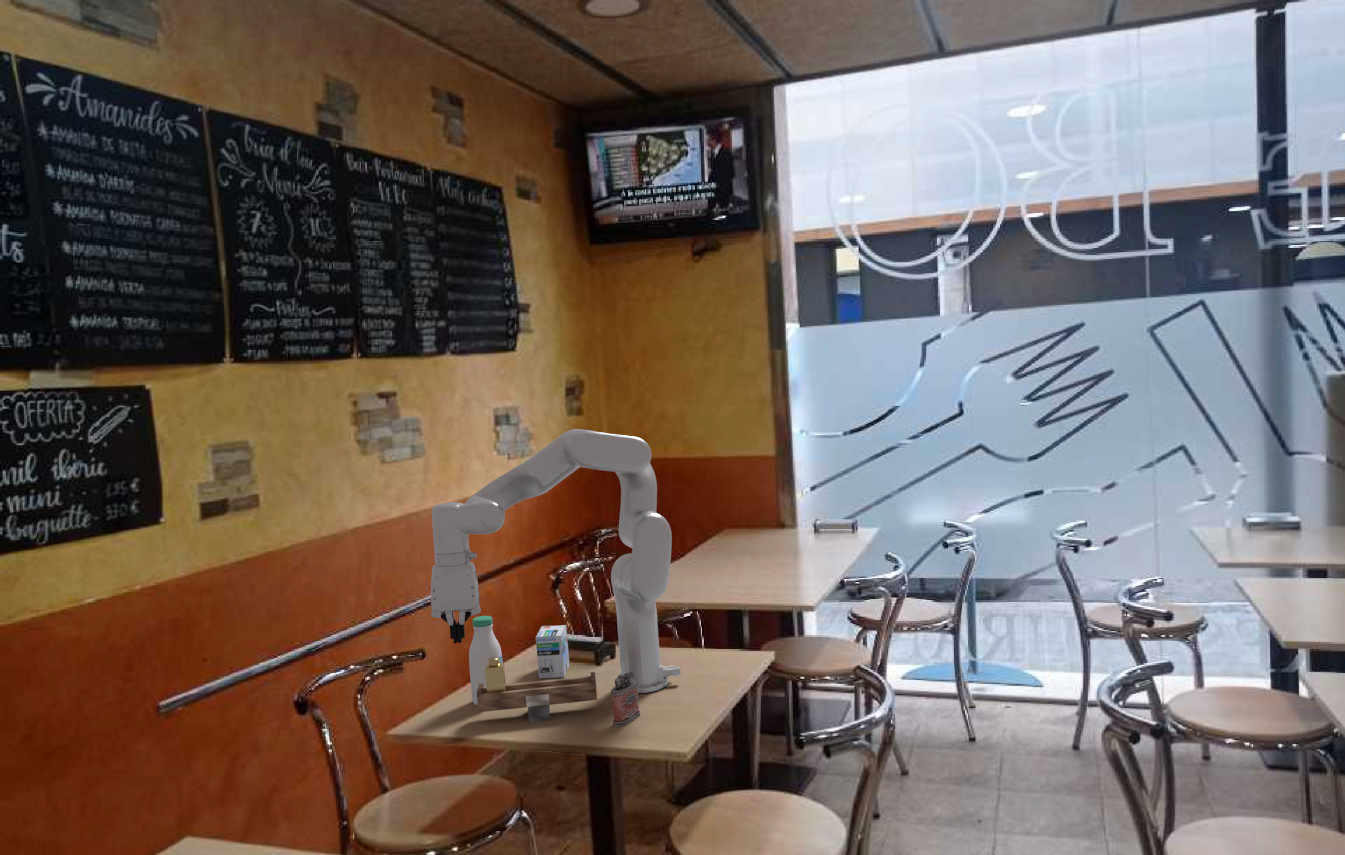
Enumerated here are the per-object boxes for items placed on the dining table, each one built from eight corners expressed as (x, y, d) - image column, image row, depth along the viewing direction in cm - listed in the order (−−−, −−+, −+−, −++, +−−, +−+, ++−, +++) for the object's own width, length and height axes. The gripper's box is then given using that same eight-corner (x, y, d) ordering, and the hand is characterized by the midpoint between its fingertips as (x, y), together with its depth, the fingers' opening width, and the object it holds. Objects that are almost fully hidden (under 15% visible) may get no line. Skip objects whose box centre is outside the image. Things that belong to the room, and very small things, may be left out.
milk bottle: (498, 707, 230) (491, 621, 228) (467, 707, 231) (460, 622, 230) (510, 695, 237) (503, 613, 236) (480, 695, 239) (473, 613, 238)
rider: (506, 691, 223) (503, 656, 222) (505, 695, 220) (502, 659, 220) (488, 693, 223) (485, 657, 222) (487, 697, 220) (484, 661, 219)
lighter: (622, 727, 211) (619, 681, 211) (609, 725, 213) (606, 679, 213) (643, 714, 218) (640, 669, 218) (630, 712, 220) (627, 668, 219)
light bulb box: (565, 677, 248) (561, 635, 248) (538, 679, 248) (534, 637, 248) (570, 664, 259) (566, 624, 258) (544, 666, 259) (541, 625, 258)
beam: (597, 702, 228) (594, 670, 227) (598, 714, 220) (595, 681, 220) (482, 714, 225) (479, 682, 225) (479, 727, 217) (476, 693, 217)
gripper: (488, 553, 223) (493, 634, 224) (420, 558, 222) (425, 640, 223) (485, 559, 216) (491, 643, 217) (415, 565, 214) (421, 649, 215)
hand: (458, 641), depth 220 cm, fingers closed
